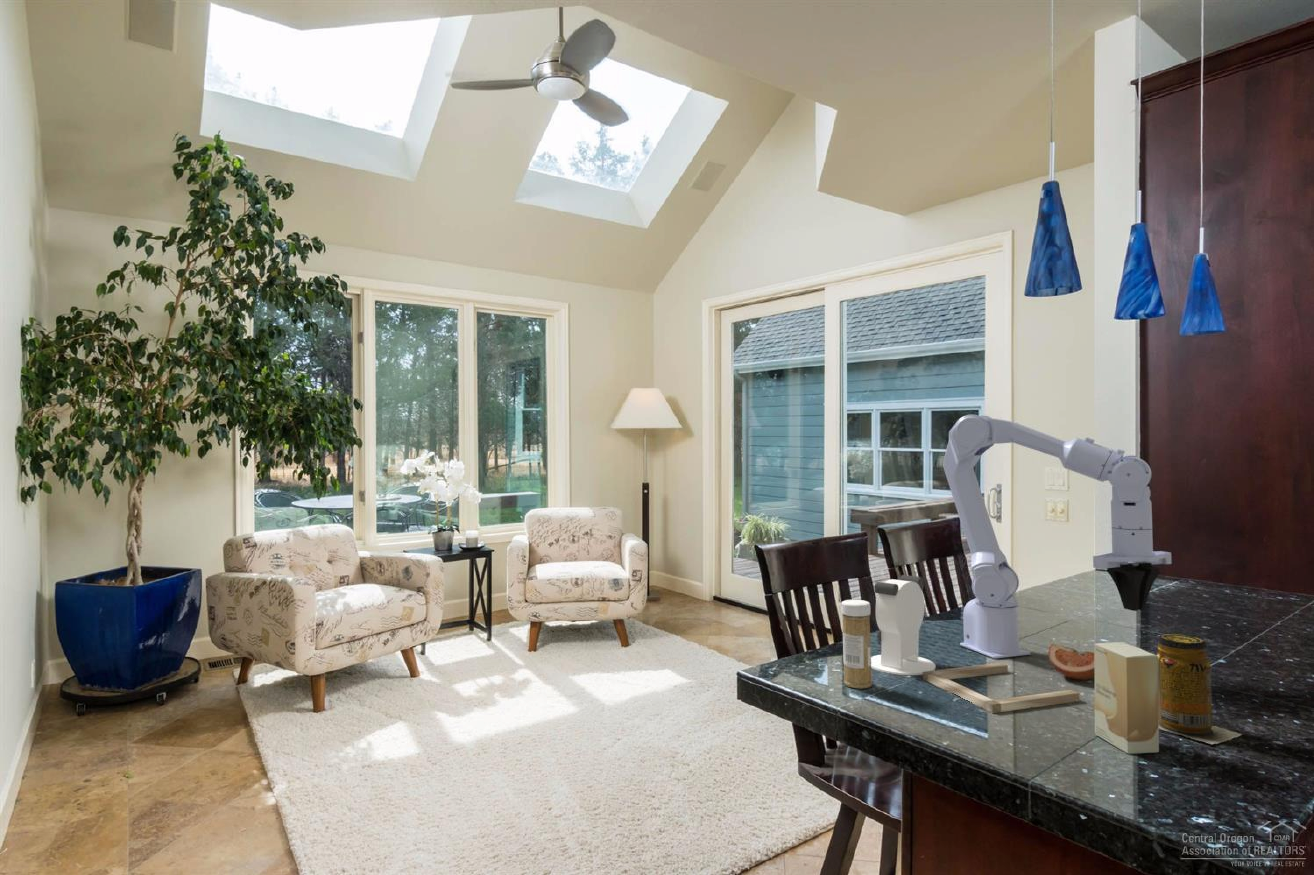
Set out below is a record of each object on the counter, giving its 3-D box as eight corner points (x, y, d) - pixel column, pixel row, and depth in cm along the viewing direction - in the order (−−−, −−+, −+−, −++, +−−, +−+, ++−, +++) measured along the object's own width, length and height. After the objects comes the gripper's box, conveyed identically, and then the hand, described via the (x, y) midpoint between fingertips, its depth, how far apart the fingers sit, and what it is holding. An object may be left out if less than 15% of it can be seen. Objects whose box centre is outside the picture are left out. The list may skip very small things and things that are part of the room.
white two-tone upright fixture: (888, 651, 134) (886, 571, 135) (948, 663, 126) (946, 578, 127) (855, 665, 126) (853, 580, 126) (917, 679, 118) (914, 588, 118)
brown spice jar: (878, 685, 115) (876, 602, 116) (859, 691, 113) (857, 605, 113) (856, 678, 119) (854, 597, 119) (837, 683, 117) (835, 601, 117)
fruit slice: (1114, 681, 115) (1113, 650, 116) (1098, 690, 111) (1097, 658, 111) (1059, 669, 122) (1058, 640, 122) (1042, 678, 118) (1041, 647, 118)
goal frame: (922, 679, 118) (922, 671, 118) (1001, 669, 122) (1001, 662, 122) (992, 713, 103) (992, 704, 103) (1079, 700, 107) (1079, 692, 107)
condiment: (1172, 714, 101) (1169, 629, 101) (1242, 735, 93) (1239, 643, 94) (1141, 724, 98) (1138, 636, 98) (1211, 747, 90) (1208, 651, 90)
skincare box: (1093, 735, 94) (1090, 642, 95) (1124, 733, 95) (1121, 640, 95) (1129, 755, 88) (1126, 655, 88) (1162, 753, 88) (1159, 654, 89)
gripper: (1118, 532, 114) (1121, 618, 114) (1188, 528, 118) (1190, 610, 118) (1081, 528, 121) (1083, 608, 121) (1148, 524, 125) (1150, 602, 125)
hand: (1134, 609), depth 120 cm, fingers closed
